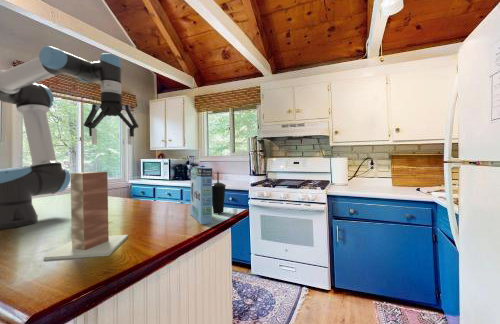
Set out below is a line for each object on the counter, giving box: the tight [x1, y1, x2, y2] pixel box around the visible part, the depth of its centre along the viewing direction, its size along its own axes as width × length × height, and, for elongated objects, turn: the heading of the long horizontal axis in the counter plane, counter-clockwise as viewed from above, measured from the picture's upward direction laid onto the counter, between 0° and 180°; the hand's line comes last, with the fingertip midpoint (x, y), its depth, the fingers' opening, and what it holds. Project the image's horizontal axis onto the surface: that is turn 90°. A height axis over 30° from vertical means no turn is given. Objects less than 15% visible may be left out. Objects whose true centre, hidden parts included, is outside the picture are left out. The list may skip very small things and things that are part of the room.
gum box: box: [190, 165, 213, 226], centre depth 106 cm, size 20×5×23 cm, turn 26°
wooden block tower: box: [69, 171, 110, 250], centre depth 73 cm, size 5×8×22 cm, turn 165°
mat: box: [43, 234, 129, 261], centre depth 74 cm, size 16×16×1 cm
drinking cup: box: [212, 171, 227, 214], centre depth 118 cm, size 8×8×20 cm
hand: (112, 144), depth 101 cm, fingers open, 13 cm apart
